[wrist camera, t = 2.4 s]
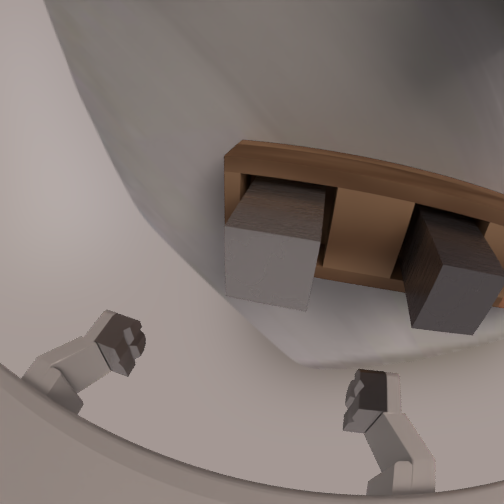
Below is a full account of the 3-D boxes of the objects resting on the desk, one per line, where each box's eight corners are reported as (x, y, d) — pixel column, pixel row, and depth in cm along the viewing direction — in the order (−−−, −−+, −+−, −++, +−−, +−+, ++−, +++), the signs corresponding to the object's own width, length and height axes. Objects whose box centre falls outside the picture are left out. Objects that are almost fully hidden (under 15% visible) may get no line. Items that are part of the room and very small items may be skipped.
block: (412, 196, 17) (443, 264, 11) (465, 209, 16) (508, 277, 10) (396, 249, 19) (411, 327, 13) (445, 259, 18) (472, 335, 13)
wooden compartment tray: (242, 139, 19) (224, 155, 16) (563, 218, 14) (584, 242, 11) (240, 233, 23) (225, 261, 20) (530, 286, 18) (544, 314, 15)
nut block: (261, 169, 18) (224, 225, 13) (326, 178, 18) (320, 241, 12) (258, 225, 21) (225, 295, 15) (317, 235, 20) (306, 311, 14)
